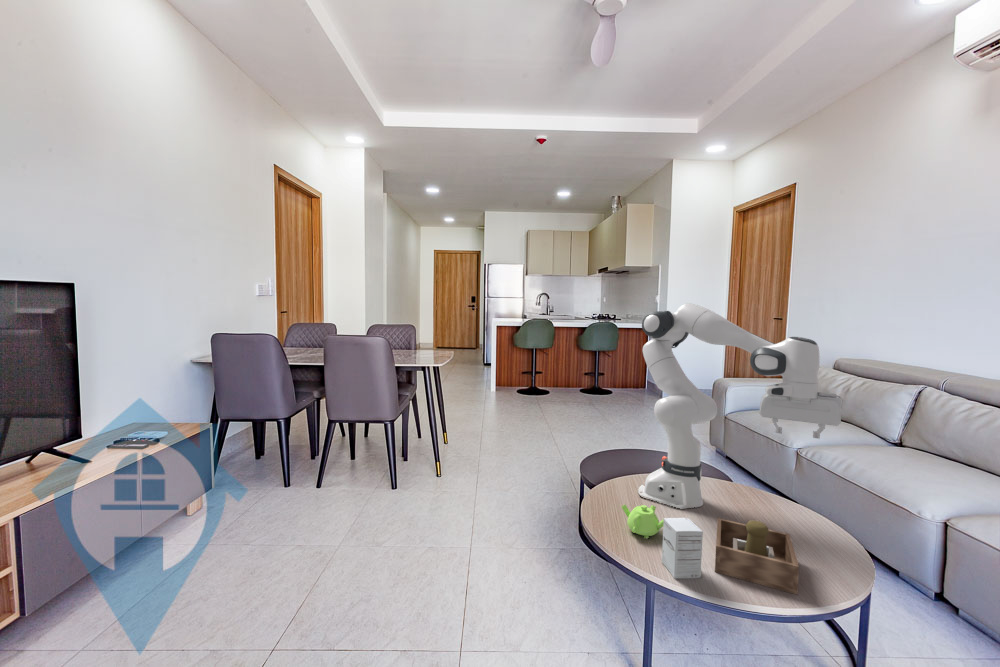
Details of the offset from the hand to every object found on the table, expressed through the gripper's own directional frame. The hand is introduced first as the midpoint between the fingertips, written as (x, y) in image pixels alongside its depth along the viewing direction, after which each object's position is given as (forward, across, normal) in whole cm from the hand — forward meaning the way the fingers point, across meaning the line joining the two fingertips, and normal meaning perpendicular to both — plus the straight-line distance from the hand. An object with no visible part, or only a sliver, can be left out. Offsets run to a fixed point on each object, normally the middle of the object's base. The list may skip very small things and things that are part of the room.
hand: (797, 435), depth 129 cm
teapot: (+32, +40, +21) cm, 55 cm away
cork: (+31, +10, +24) cm, 40 cm away
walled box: (+32, +11, +24) cm, 41 cm away
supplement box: (+32, +28, +37) cm, 56 cm away
